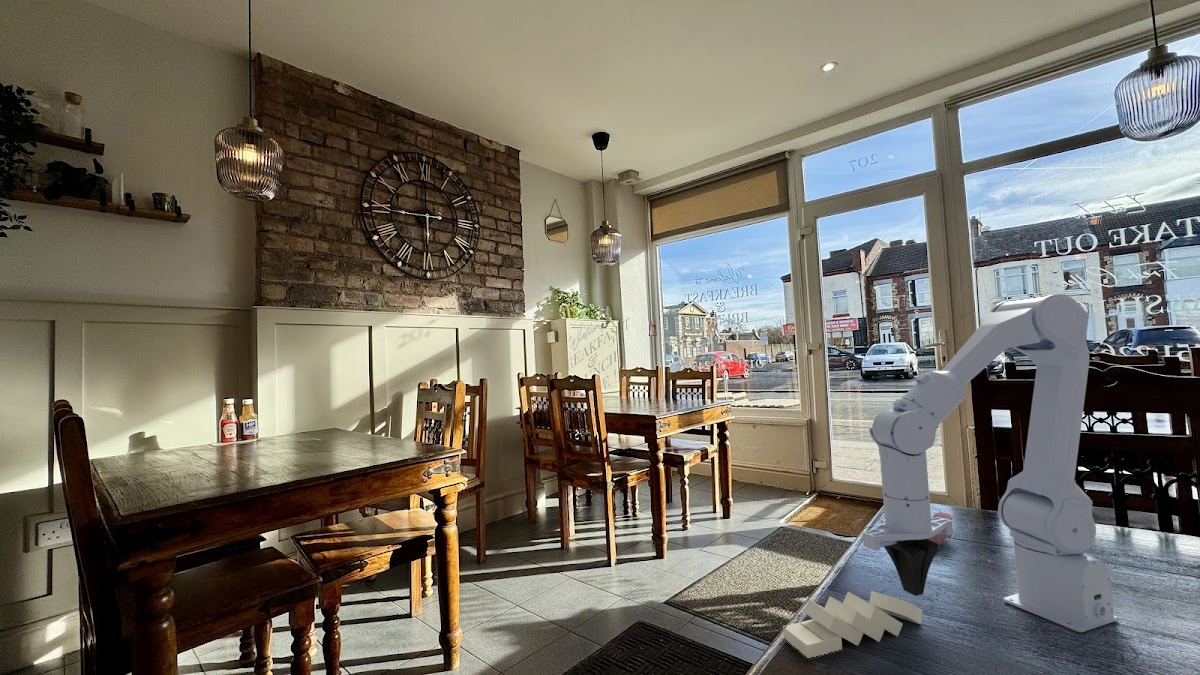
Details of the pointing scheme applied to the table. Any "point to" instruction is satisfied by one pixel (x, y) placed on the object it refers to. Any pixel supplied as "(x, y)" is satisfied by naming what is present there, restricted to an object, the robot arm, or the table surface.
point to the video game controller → (941, 537)
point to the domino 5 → (896, 607)
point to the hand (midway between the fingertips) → (913, 592)
